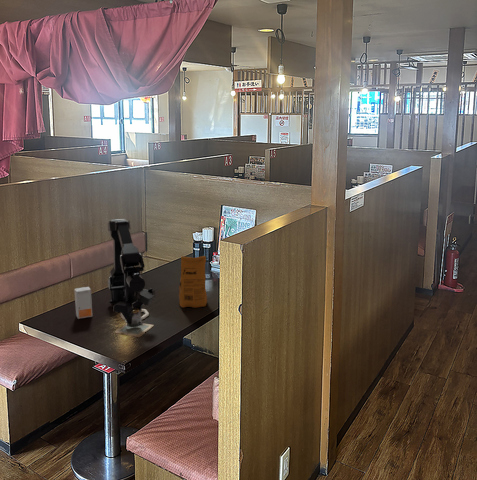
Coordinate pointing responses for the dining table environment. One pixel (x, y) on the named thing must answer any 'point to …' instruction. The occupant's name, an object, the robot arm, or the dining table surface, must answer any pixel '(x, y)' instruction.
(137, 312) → the round spotlight head
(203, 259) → the coffee package
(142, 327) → the coaster board
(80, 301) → the skincare box
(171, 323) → the dining table surface
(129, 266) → the robot arm
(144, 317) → the collar
